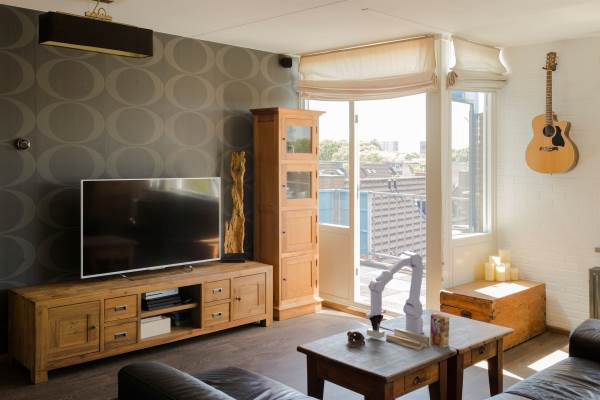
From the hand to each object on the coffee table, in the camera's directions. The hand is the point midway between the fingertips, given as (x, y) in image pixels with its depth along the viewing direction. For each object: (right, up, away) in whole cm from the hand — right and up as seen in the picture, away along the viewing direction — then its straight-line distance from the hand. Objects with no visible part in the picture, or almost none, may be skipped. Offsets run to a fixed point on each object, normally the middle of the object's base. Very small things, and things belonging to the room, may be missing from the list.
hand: (375, 329), depth 300 cm
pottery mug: (-11, -6, -9) cm, 16 cm away
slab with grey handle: (0, -4, 0) cm, 4 cm away
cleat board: (+16, -6, -5) cm, 17 cm away
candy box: (+31, -6, -8) cm, 33 cm away
